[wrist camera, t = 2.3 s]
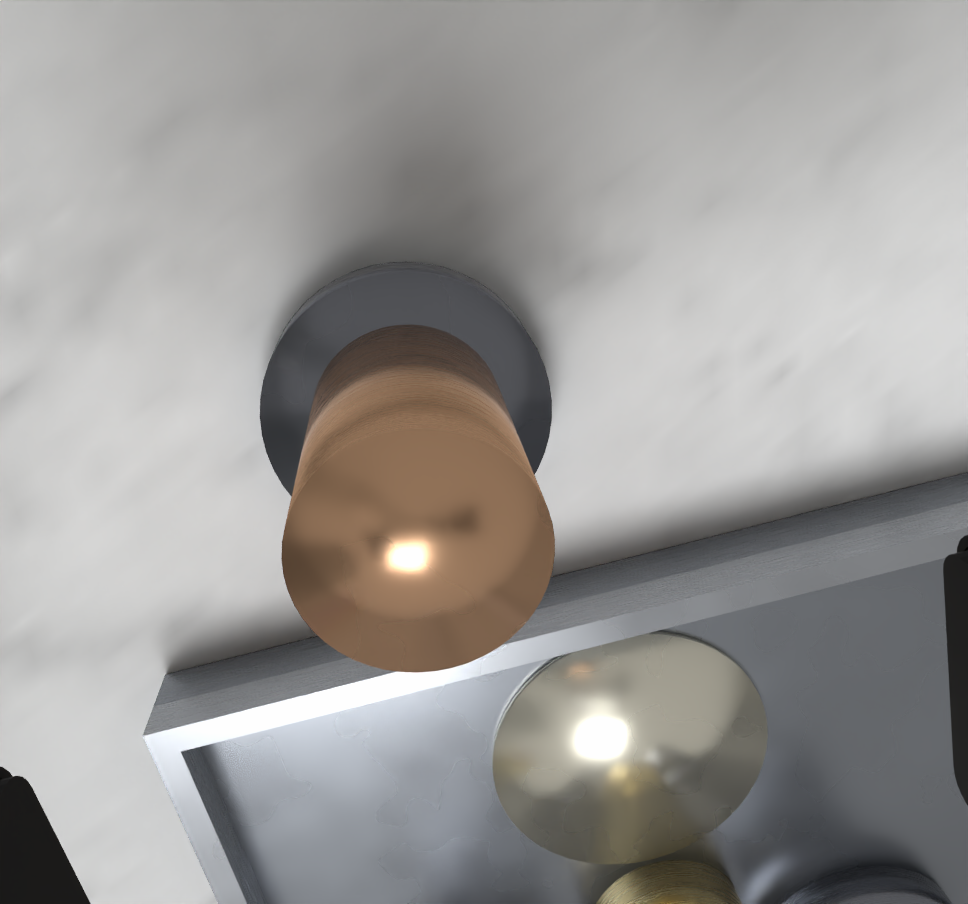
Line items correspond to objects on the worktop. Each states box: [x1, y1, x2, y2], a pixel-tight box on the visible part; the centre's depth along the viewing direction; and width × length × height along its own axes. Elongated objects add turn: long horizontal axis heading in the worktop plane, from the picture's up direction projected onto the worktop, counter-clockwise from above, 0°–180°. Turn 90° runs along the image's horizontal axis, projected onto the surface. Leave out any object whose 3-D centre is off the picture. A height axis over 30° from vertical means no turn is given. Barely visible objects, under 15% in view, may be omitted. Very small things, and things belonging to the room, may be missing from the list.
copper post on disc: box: [260, 262, 555, 673], centre depth 16 cm, size 6×6×7 cm
